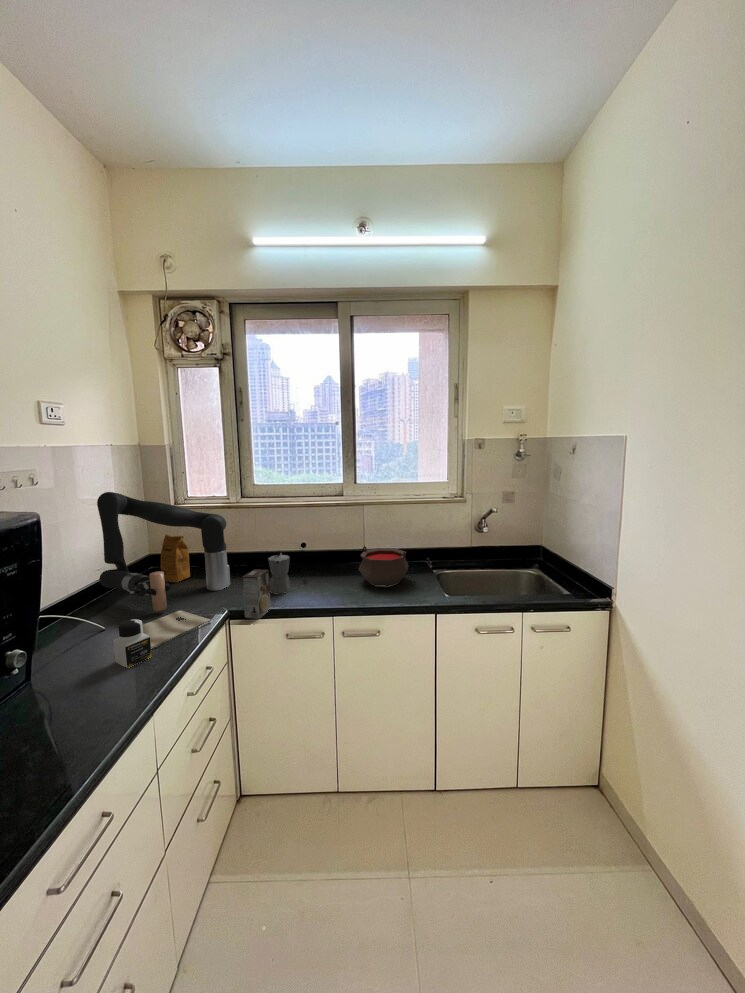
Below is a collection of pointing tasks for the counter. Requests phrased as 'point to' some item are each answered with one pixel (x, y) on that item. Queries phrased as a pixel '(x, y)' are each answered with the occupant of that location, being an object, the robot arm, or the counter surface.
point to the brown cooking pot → (383, 565)
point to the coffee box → (256, 593)
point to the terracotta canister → (158, 591)
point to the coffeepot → (279, 573)
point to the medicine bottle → (131, 644)
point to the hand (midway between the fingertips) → (162, 590)
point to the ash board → (171, 626)
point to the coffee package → (175, 559)
